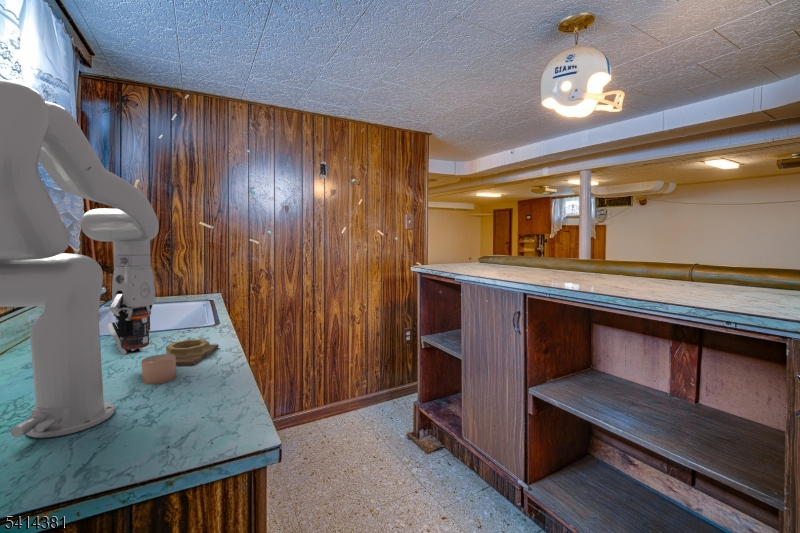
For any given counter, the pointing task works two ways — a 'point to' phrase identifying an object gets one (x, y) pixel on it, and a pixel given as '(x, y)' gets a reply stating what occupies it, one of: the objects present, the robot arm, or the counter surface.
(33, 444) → the counter surface
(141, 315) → the supplement bottle
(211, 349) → the holder plate
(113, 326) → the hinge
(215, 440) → the counter surface
